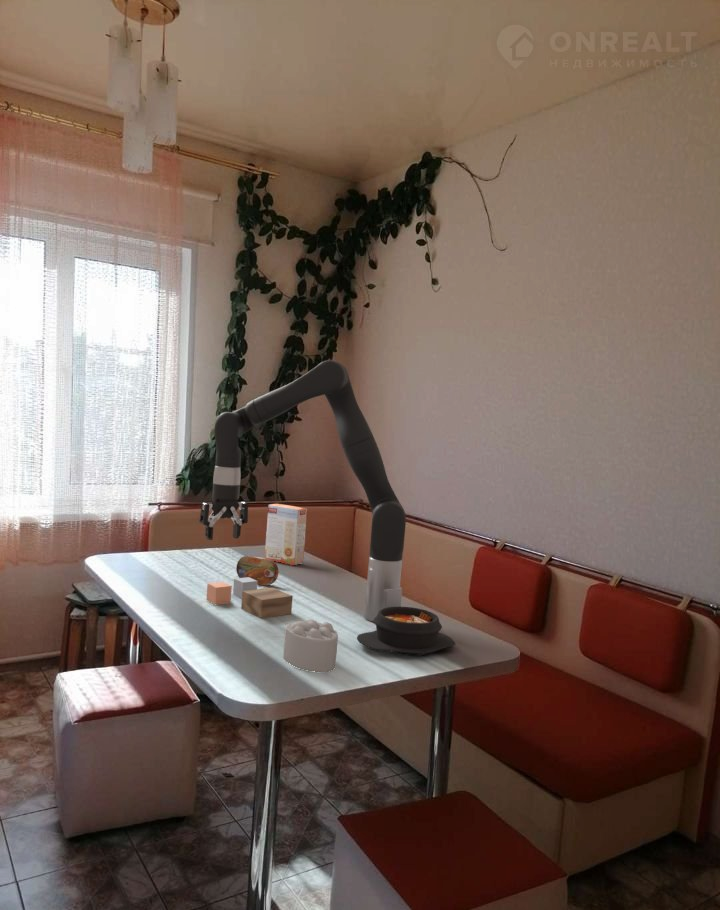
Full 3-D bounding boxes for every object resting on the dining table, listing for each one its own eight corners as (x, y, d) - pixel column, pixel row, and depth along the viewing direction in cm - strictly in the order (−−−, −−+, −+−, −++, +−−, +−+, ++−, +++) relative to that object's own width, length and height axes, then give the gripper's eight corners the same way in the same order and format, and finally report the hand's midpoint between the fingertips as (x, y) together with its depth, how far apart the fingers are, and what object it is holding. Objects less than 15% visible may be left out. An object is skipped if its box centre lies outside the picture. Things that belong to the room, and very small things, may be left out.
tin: (234, 579, 231) (236, 554, 230) (240, 578, 234) (242, 552, 233) (273, 588, 224) (275, 561, 223) (278, 586, 227) (280, 560, 226)
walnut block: (291, 613, 197) (292, 595, 197) (260, 618, 191) (262, 600, 190) (271, 604, 205) (272, 587, 205) (241, 608, 198) (242, 591, 198)
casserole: (433, 633, 190) (436, 602, 189) (468, 658, 172) (471, 624, 172) (345, 637, 180) (348, 605, 180) (373, 663, 163) (376, 628, 163)
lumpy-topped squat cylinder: (316, 650, 169) (318, 614, 169) (346, 668, 159) (349, 630, 158) (277, 656, 163) (280, 619, 163) (306, 675, 153) (309, 636, 152)
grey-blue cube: (256, 597, 212) (257, 580, 211) (241, 599, 208) (243, 582, 208) (247, 593, 215) (248, 577, 215) (232, 595, 212) (234, 578, 212)
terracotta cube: (230, 603, 203) (231, 585, 203) (215, 605, 200) (216, 587, 200) (221, 598, 207) (222, 581, 207) (206, 600, 204) (207, 583, 204)
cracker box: (303, 564, 261) (308, 507, 260) (293, 566, 256) (298, 509, 255) (274, 557, 269) (278, 502, 267) (263, 559, 263) (267, 503, 262)
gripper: (211, 484, 194) (206, 542, 195) (255, 484, 204) (251, 540, 205) (197, 480, 200) (193, 537, 201) (241, 480, 209) (237, 535, 210)
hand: (222, 538), depth 203 cm, fingers open, 8 cm apart
